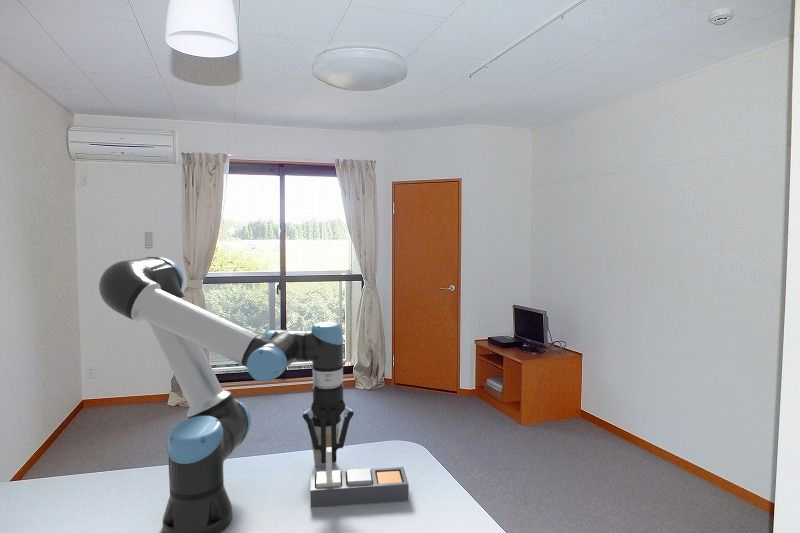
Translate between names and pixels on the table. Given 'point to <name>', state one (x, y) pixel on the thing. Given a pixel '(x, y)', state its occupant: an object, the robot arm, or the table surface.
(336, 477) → the key cream
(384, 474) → the key orange
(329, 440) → the coffee cup
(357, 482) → the key grey
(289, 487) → the table surface
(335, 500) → the keypad
